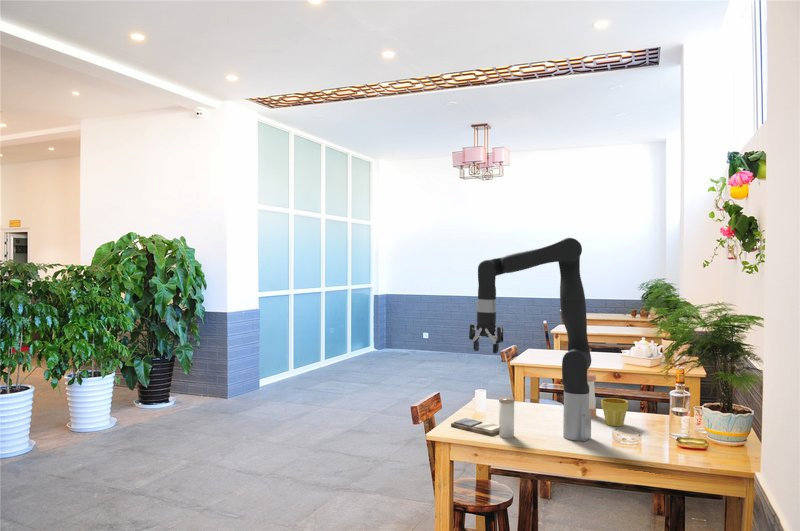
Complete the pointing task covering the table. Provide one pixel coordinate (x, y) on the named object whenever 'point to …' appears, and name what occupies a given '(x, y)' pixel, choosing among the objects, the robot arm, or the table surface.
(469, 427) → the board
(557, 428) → the table surface
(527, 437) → the table surface
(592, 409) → the pepper shaker
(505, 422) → the tea canister
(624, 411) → the plant pot
